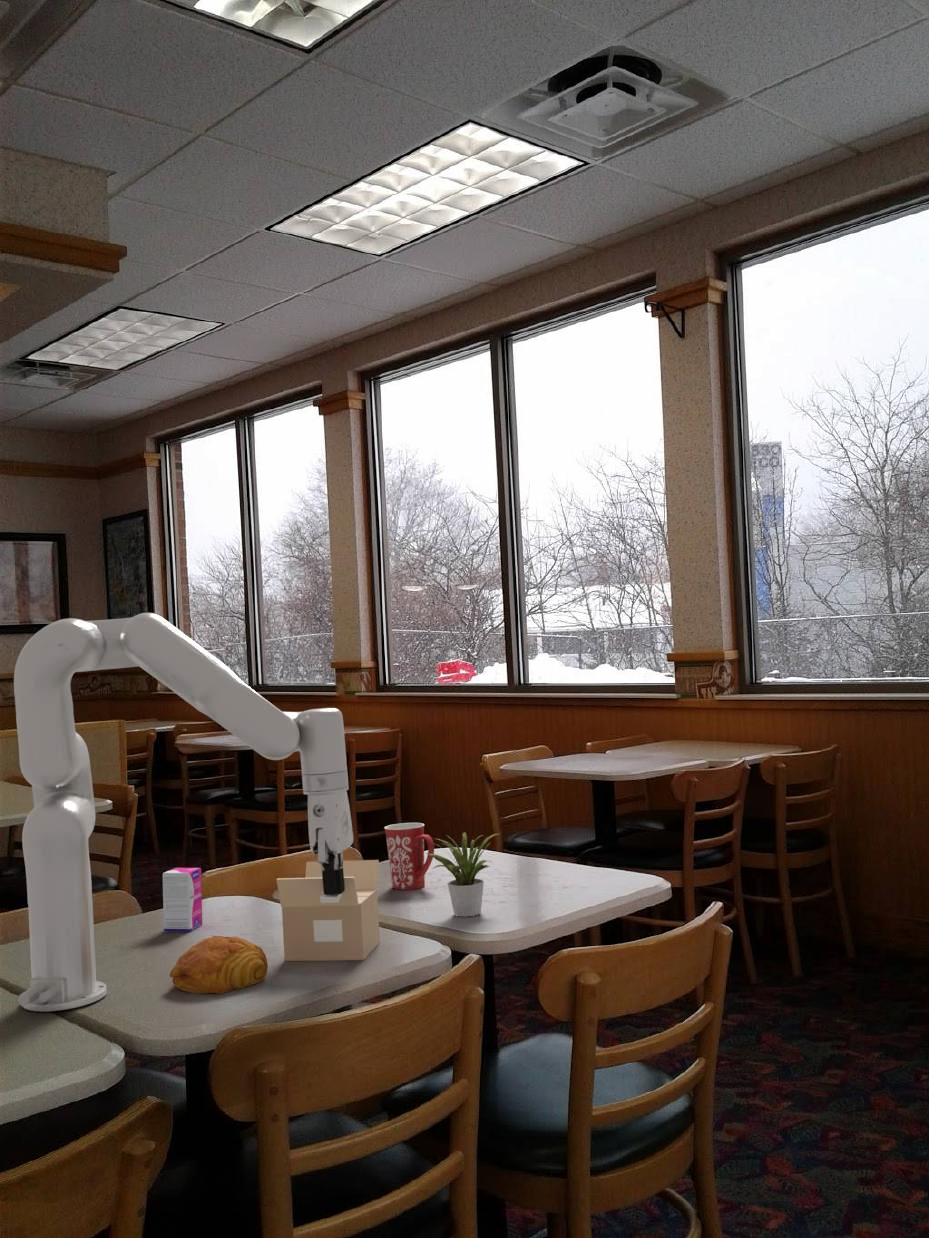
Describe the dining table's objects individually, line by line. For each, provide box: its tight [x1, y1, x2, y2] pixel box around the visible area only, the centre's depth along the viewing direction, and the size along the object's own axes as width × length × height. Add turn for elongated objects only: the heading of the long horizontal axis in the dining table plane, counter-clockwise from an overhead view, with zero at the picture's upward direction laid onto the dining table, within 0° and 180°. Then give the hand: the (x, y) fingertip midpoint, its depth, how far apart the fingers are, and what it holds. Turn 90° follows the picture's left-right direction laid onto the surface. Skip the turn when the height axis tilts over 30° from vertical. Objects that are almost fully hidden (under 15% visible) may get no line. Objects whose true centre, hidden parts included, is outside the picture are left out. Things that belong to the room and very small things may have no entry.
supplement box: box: [162, 867, 203, 933], centre depth 215 cm, size 6×6×12 cm
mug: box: [383, 822, 435, 891], centre depth 241 cm, size 13×9×14 cm
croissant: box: [168, 935, 269, 995], centre depth 177 cm, size 14×16×8 cm
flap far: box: [304, 859, 380, 890], centre depth 200 cm, size 5×14×4 cm
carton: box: [281, 888, 381, 962], centre depth 191 cm, size 11×14×10 cm
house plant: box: [424, 831, 501, 917], centre depth 215 cm, size 14×14×16 cm
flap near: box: [276, 877, 359, 908], centre depth 183 cm, size 5×14×4 cm
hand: (334, 893), depth 181 cm, fingers closed
